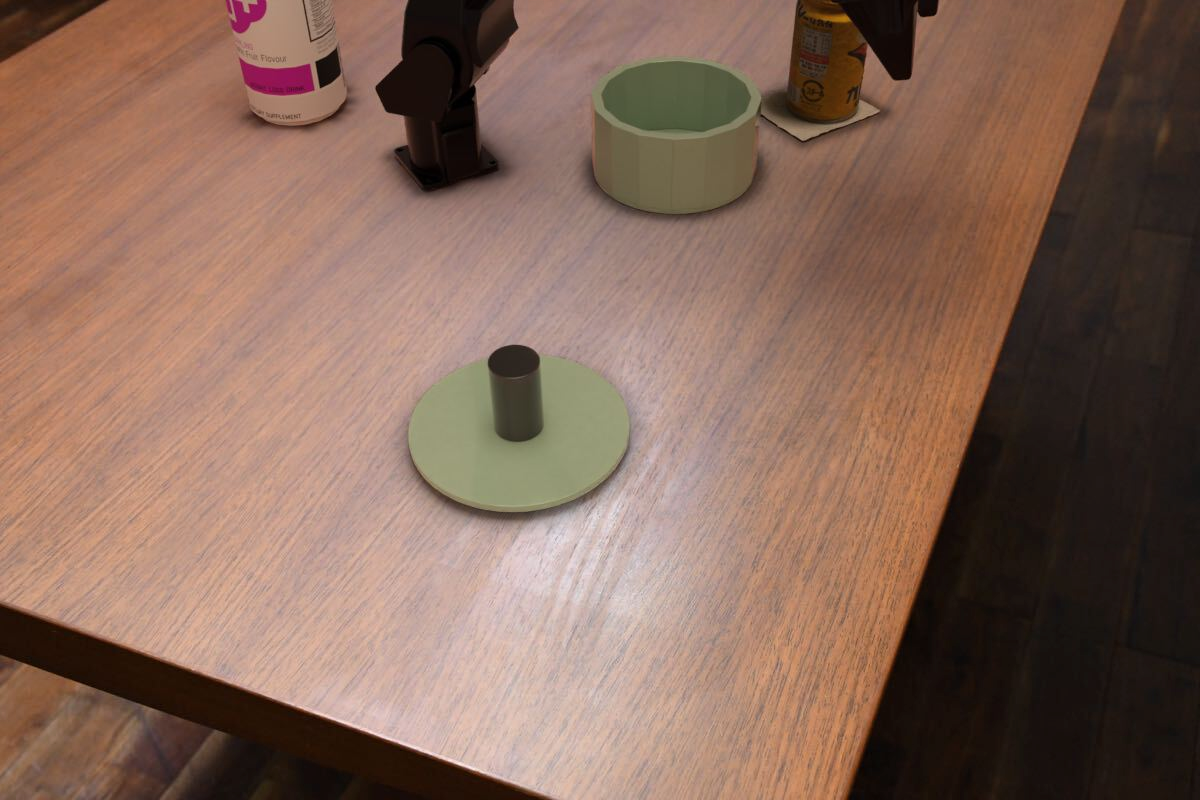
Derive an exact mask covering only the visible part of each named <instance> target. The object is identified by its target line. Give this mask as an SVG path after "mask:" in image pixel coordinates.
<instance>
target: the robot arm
mask: <svg viewBox="0 0 1200 800" xmlns="http://www.w3.org/2000/svg"><path fill="white" fill-rule="evenodd" d="M830 1H831V2H832V3H837V4H838V5H839V6H840V7H841V9H842V10H843V11H844V12H845V14H846V15H847V16H848V17H849V19H850V20H851V21H852V23H853V24H854V25H855V26H856V28H857V29H858V30H859V32H860V33H861V35H862V36H863V38H865V40H866V42H867V43H868V46H869V48H870V49H871V51H872V52H873V53H874V54H875V56H876V58H877V59H878V61H879V62H880V63H881V65H882V67H884V69H885V71H886V72H887V74H888V75H889V77H890V78H891V80H893V81H895V82H899V81H900V82H901V81H909V80H910V79H911V78H912V76H913V68H914V60H915V59H914V58H915V49H916V34H917V22H918V21H917V20H918V16H919V17H920V18H929V17H930V18H931V17H935V16H936V15H937V13H938V11H939V4H940V0H830ZM514 4H515V0H407V2H406V5H405V9H404V13H403V24H402V35H401V46H400V47H401V48H400V49H401V53H400V54H401V60H400V61H399V62H398V64H396V66H394V67H393V68H392V69H391V70H390V71H389V72H388V73H387V74H386V75H385V76H384V77H383V78H382V79H381V80H380V81H379V82H378V83H377V84H376V85H375V88H374V90H375V93H376V94H377V96H378V98H379V101H380V103H381V104H382V107H383V109H384V111H385V112H386V113H387V114H392V115H398V116H403V122H404V128H405V136H406V143H407V144H405V145H401V146H398V147H395V148H394V149H393V153H394V158H396V159H397V160H398V162H400V164H401V165H402V166H403V168H404V169H405V170H406V171H407V173H408V174H409V175H410V176H411V177H412V178H413V180H414V181H415V182H416V183H417V184H418V186H419V187H420V188H421V189H422V190H424V191H433V190H435V189H438V188H442V187H445V186H448V185H451V184H454V183H458V182H462V181H465V180H468V179H471V178H475V177H478V176H481V175H484V174H487V173H491V172H494V171H497V170H499V168H500V162H499V160H498V159H497V158H496V157H495V156H494V155H493V154H492V153H491V152H490V151H489V149H488V148H486V147H485V145H483V144H482V137H481V130H480V128H481V127H480V117H479V109H478V108H479V107H478V106H479V105H478V95H477V87H476V83H477V82H478V81H479V80H480V79H481V78H482V77H483V76H484V75H487V74H488V72H489V71H490V68H491V66H492V65H493V63H494V62H495V61H496V60H497V59H498V58H499V57H500V56H501V55H502V53H503V52H504V51H505V50H506V49H507V47H508V45H509V42H510V38H511V37H512V36H513V35H514V34H515V33H516V32H517V31H518V30H519V28H520V27H519V24H518V22H517V18H516V16H515V8H514V7H515V6H514Z"/></svg>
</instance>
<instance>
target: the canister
mask: <svg viewBox="0 0 1200 800" xmlns="http://www.w3.org/2000/svg"><path fill="white" fill-rule="evenodd" d="M762 98H763V97H762V95H761V92H760V89H759V88H758V86H757V84H756V81H754V80H753V79H751V78H750V77H749V76H748V75H746V74H745V73H743V72H742V71H740V70H739V68H736V67H733V66H730V65H727V64H725V63H722V62H718V61H715V60H712V59H708V58H701V57H700V58H699V57H691V56H683V55H671V56H657V57H655V56H654V57H646V58H642V59H638V60H635V61H631V62H627V63H623V64H621V65H619V66H616V67H615V68H613V69H612V70H611V71H609V72H607V73H606V74H604V75H602V76H601V77H600V78H599V79H598V80H597V82H596V84H595V86H594V87H593V89H592V91H591V93H590V125H591V126H590V127H591V128H590V129H591V130H590V131H591V163H592V168H593V176H594V179H595V182H596V183H597V185H598V186H599V188H600V189H601V190H602V191H603V192H604V193H605V194H607V195H608V196H609V197H610V198H612V199H613V200H615V201H616V202H619V203H621V204H623V205H625V206H628V207H630V208H632V209H637V210H641V211H643V212H649V213H655V214H663V215H664V214H665V215H667V214H668V215H684V214H686V215H687V214H695V213H702V212H707V211H711V210H714V209H718V208H721V207H724V206H725V205H728V204H730V203H731V202H734V201H735V200H737V199H739V198H740V197H741V196H742V195H743V194H745V192H747V190H748V189H749V188H750V186H751V184H752V182H753V181H754V178H755V172H756V170H757V169H756V168H757V162H758V152H759V139H760V126H761V115H762V114H761V104H762Z"/></svg>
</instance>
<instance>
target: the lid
mask: <svg viewBox="0 0 1200 800" xmlns="http://www.w3.org/2000/svg"><path fill="white" fill-rule="evenodd" d="M410 416H411V417H410V420H409V423H408V430H407V431H408V432H407V439H408V440H407V441H408V448H409V452H410V456H411V460H412V462H413V464H414V465H415V468H416V470H417V471H418V473H419V475H421V476H422V478H423V479H424V480H425V481H426V482H427V483H428V484H429V485H430V486H431V487H432V488H433V489H435V490H436V491H438V492H439V493H441V494H442V495H444V496H445V497H447V498H450V499H451V500H453V501H455V502H458V503H460V504H463V505H466V506H468V507H472V508H476V509H479V510H485V511H491V512H498V513H499V512H500V513H502V512H503V513H524V512H533V511H539V510H545V509H550V508H553V507H558V506H561V505H563V504H566V503H569V502H571V501H574V500H575V499H578V498H580V497H582V496H585V495H586V494H587V493H589V492H590V491H592V490H593V489H595V488H597V487H598V486H599V485H600V484H602V483H603V482H604V481H605V480H607V479H608V478H609V476H610V475H612V474H613V472H614V471H615V470H616V468H617V467H618V465H619V464H620V463H621V461H622V459H623V457H624V456H625V453H626V451H627V448H628V445H629V441H630V432H631V431H630V430H631V424H630V415H629V411H628V408H627V406H626V403H625V401H624V399H623V397H622V395H621V394H620V393H619V392H618V390H617V389H616V387H615V386H614V385H613V384H612V383H611V382H609V380H608V379H606V378H605V377H604V376H602V375H601V374H600V373H598V372H597V371H596V370H593V369H591V368H590V367H588V366H586V365H583V364H582V363H579V362H577V361H574V360H570V359H567V358H564V357H560V356H555V355H549V354H541V353H538V352H537V351H536V350H535V349H533V348H532V347H530V346H527V345H523V344H508V345H504V346H501V347H499V348H497V349H495V350H493V352H491V353H490V355H489V357H487V358H484V359H481V360H477V361H474V362H471V363H468V364H467V365H464V366H462V367H459V368H458V369H456V370H454V371H452V372H450V373H448V374H447V375H445V376H444V377H442V378H441V379H440V380H438V381H436V383H435V384H433V385H432V386H431V387H430V388H428V390H427V391H426V392H425V393H424V395H422V397H421V398H420V400H419V401H418V403H417V404H416V405H415V408H414V409H413V412H412V414H411V415H410Z"/></svg>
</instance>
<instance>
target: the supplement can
mask: <svg viewBox="0 0 1200 800" xmlns="http://www.w3.org/2000/svg"><path fill="white" fill-rule="evenodd" d="M225 4H226V9H227V14H228V18H229V22H230V27H231V30H232V34H233V39H234V43H235V48H236V52H237V56H238V60H239V64H240V65H239V66H240V69H241V74H242V78H243V82H244V87H245V90H246V95H247V100H248V103H249V109H250V110H251V111H252V112H253V113H254V114H256V115H257V117H260V118H262V119H263V120H264V121H266V122H268V123H271V124H274V125H279V126H288V127H293V126H295V127H296V126H306V125H311V124H313V123H317V122H321V121H323V120H325V119H327V118H328V117H331V116H332V115H334V114H335V113H336V112H337V111H338V110H340V107H341V105H343V104H344V103H345V101H346V99H347V96H348V89H347V83H346V77H345V71H344V65H343V60H342V59H343V58H342V54H341V53H342V52H341V48H340V41H339V36H338V30H337V25H336V24H337V23H336V19H335V12H334V7H333V1H332V0H225Z"/></svg>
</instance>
